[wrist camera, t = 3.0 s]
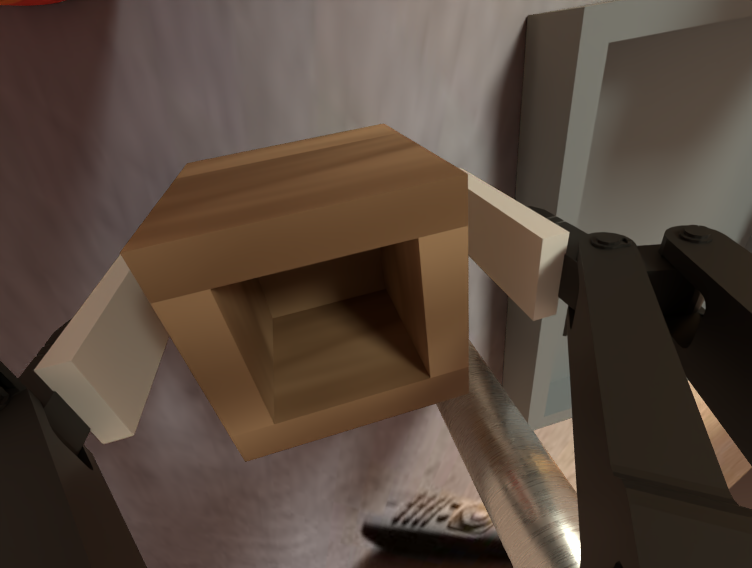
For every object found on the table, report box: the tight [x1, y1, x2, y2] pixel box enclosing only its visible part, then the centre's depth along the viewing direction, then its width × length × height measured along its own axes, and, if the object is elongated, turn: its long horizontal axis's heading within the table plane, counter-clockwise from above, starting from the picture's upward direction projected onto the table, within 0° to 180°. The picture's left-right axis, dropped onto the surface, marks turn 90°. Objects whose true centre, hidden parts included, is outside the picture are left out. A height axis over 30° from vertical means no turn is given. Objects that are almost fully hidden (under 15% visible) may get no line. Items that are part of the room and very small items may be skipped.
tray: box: [502, 0, 752, 430], centre depth 18 cm, size 20×15×3 cm
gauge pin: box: [436, 340, 580, 568], centre depth 14 cm, size 3×3×14 cm
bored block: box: [120, 124, 469, 462], centre depth 12 cm, size 7×7×7 cm
